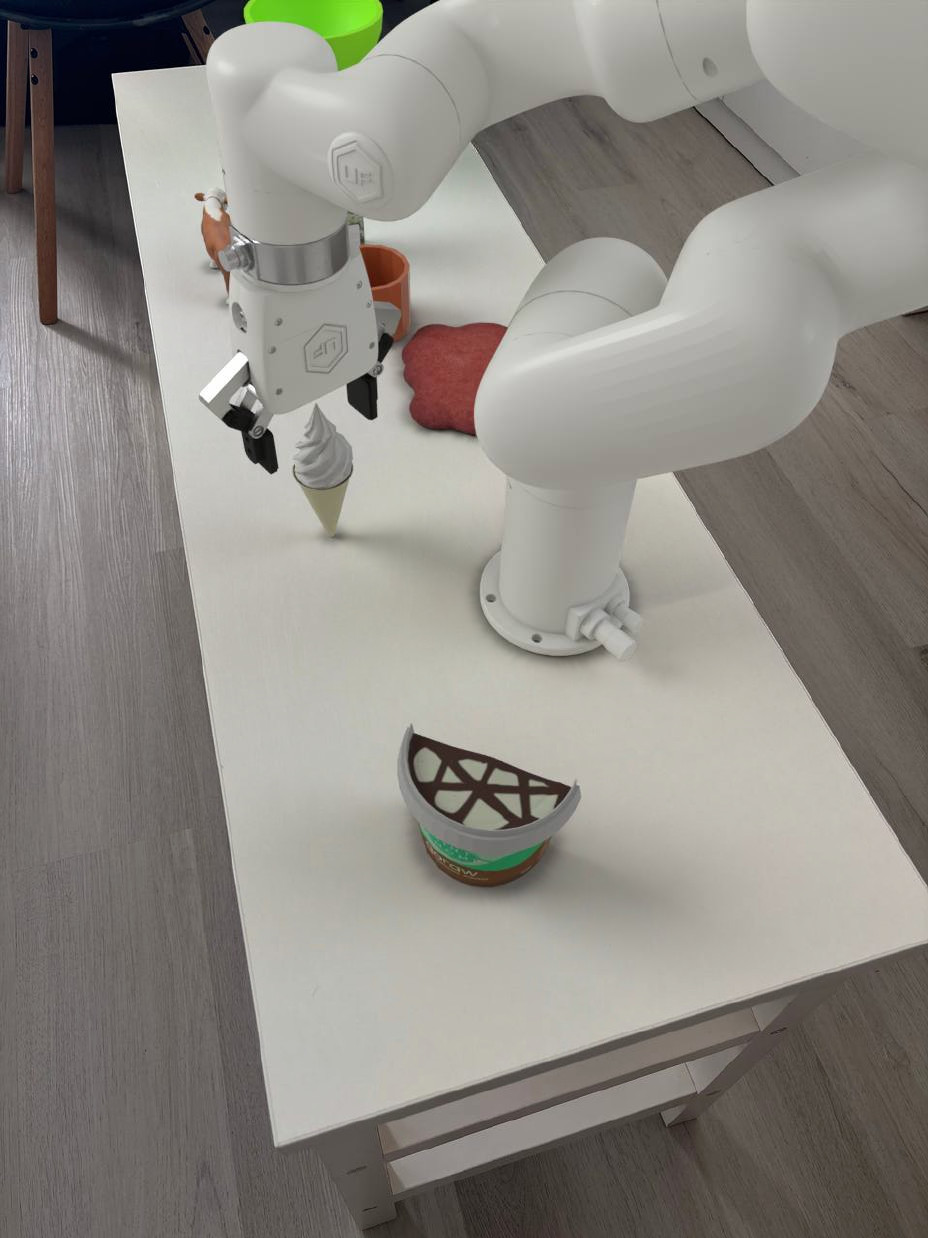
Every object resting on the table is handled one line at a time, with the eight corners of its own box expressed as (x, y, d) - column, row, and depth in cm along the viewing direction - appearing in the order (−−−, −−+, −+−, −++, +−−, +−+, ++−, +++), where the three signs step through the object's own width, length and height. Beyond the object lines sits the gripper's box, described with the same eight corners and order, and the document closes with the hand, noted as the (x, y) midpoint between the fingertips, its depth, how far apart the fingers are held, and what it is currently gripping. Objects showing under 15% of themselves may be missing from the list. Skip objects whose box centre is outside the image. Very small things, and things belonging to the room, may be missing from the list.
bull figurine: (240, 243, 115) (228, 175, 109) (261, 308, 107) (250, 239, 101) (202, 248, 114) (188, 181, 108) (222, 315, 107) (208, 246, 100)
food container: (372, 867, 68) (364, 799, 60) (407, 793, 72) (403, 720, 64) (541, 930, 65) (555, 869, 58) (568, 850, 69) (585, 782, 61)
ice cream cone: (351, 560, 85) (337, 429, 73) (295, 551, 86) (272, 418, 74) (366, 519, 88) (355, 386, 76) (312, 510, 89) (292, 377, 77)
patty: (554, 431, 96) (556, 415, 94) (414, 443, 94) (414, 427, 93) (521, 324, 107) (522, 308, 105) (394, 333, 105) (394, 318, 103)
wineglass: (353, 122, 134) (343, -27, 120) (411, 174, 126) (408, 20, 111) (245, 150, 128) (221, -2, 114) (299, 207, 120) (279, 50, 106)
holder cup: (426, 327, 106) (425, 269, 100) (366, 357, 102) (362, 299, 97) (378, 293, 110) (375, 235, 104) (319, 321, 106) (313, 263, 101)
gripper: (210, 316, 59) (250, 513, 73) (429, 220, 66) (427, 415, 80) (146, 261, 62) (195, 459, 76) (361, 175, 70) (370, 369, 83)
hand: (314, 436), depth 78 cm, fingers open, 9 cm apart
